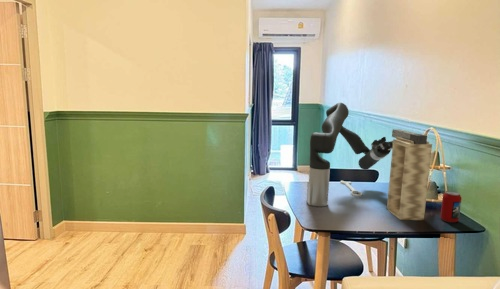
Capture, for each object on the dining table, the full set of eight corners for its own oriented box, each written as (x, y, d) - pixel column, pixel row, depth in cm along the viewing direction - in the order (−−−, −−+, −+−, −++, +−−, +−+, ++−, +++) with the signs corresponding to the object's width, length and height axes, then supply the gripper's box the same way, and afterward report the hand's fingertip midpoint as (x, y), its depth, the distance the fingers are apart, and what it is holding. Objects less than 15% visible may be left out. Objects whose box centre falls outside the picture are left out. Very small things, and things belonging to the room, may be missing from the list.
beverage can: (458, 224, 143) (461, 196, 141) (439, 221, 146) (442, 193, 144) (458, 219, 148) (462, 192, 146) (440, 216, 152) (443, 189, 150)
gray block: (415, 144, 141) (416, 135, 140) (390, 136, 162) (391, 129, 162) (426, 144, 141) (427, 135, 140) (400, 136, 163) (401, 129, 162)
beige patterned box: (400, 219, 146) (408, 141, 141) (386, 209, 159) (393, 136, 154) (423, 220, 147) (432, 141, 142) (408, 209, 159) (415, 137, 154)
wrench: (349, 183, 206) (339, 183, 206) (349, 180, 205) (339, 179, 205) (363, 197, 178) (351, 196, 178) (363, 193, 178) (352, 192, 178)
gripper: (365, 143, 180) (378, 131, 165) (392, 144, 181) (407, 131, 166) (367, 157, 177) (380, 146, 162) (394, 158, 178) (410, 146, 163)
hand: (394, 138), depth 164 cm, fingers open, 8 cm apart
